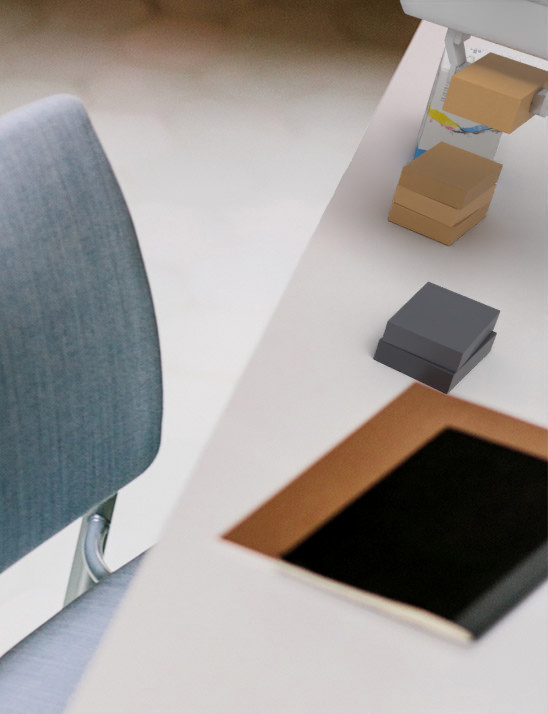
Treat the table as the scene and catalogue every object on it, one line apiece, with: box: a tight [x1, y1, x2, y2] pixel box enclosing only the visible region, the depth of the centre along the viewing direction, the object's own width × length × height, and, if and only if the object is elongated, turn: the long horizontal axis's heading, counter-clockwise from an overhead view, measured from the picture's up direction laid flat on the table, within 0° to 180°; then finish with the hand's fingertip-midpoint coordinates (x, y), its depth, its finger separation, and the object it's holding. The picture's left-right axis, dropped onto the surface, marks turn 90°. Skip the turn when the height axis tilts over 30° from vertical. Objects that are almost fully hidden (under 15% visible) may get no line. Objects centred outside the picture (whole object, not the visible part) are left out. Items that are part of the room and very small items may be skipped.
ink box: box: [412, 45, 522, 161], centre depth 131 cm, size 9×8×12 cm
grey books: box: [373, 281, 501, 395], centre depth 102 cm, size 7×9×4 cm
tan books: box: [387, 141, 504, 247], centre depth 122 cm, size 7×9×6 cm
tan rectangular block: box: [442, 51, 548, 135], centre depth 99 cm, size 6×8×3 cm
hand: (496, 98), depth 99 cm, fingers closed on tan rectangular block, 6 cm apart
